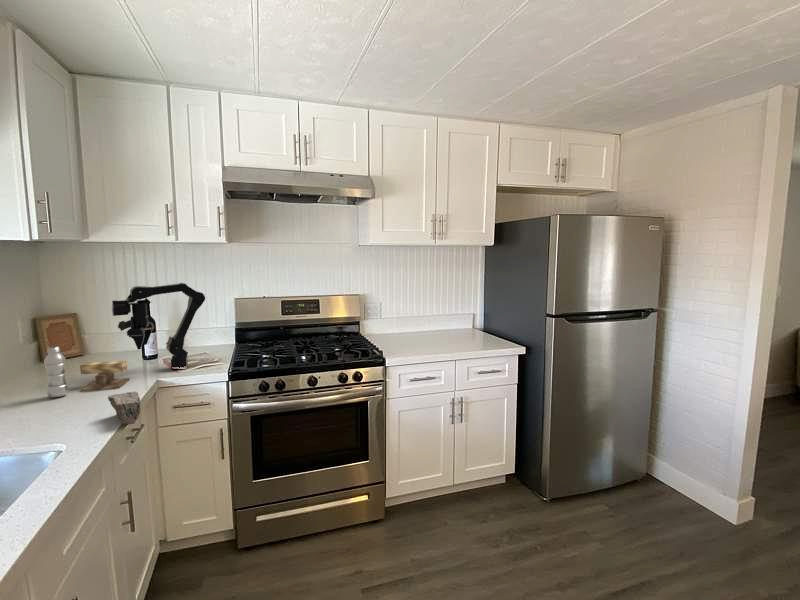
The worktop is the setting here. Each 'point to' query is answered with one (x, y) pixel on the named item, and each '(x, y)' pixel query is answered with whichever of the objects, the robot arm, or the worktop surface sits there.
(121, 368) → the oak bar
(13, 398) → the worktop surface
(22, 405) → the worktop surface
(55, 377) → the plastic bottle
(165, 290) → the robot arm
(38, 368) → the worktop surface
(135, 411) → the stone block
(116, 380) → the walnut board
